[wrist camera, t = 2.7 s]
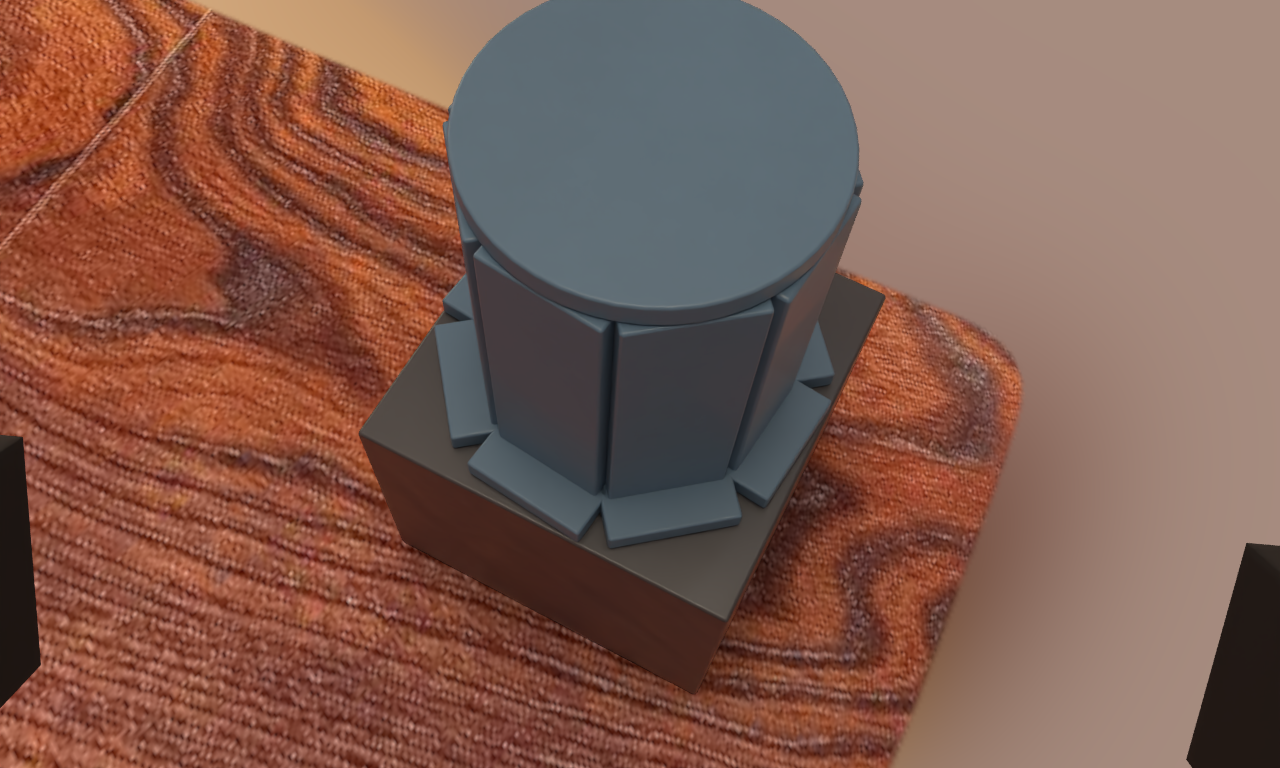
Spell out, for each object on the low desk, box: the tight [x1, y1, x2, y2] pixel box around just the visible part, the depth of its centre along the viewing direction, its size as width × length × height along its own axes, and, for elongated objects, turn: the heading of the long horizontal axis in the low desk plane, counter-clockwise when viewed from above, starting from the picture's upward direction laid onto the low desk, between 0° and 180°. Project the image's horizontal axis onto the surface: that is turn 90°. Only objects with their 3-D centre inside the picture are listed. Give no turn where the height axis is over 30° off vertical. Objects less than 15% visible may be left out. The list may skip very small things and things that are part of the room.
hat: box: [434, 0, 863, 548], centre depth 25 cm, size 10×10×9 cm
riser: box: [359, 273, 885, 694], centre depth 33 cm, size 10×10×8 cm
